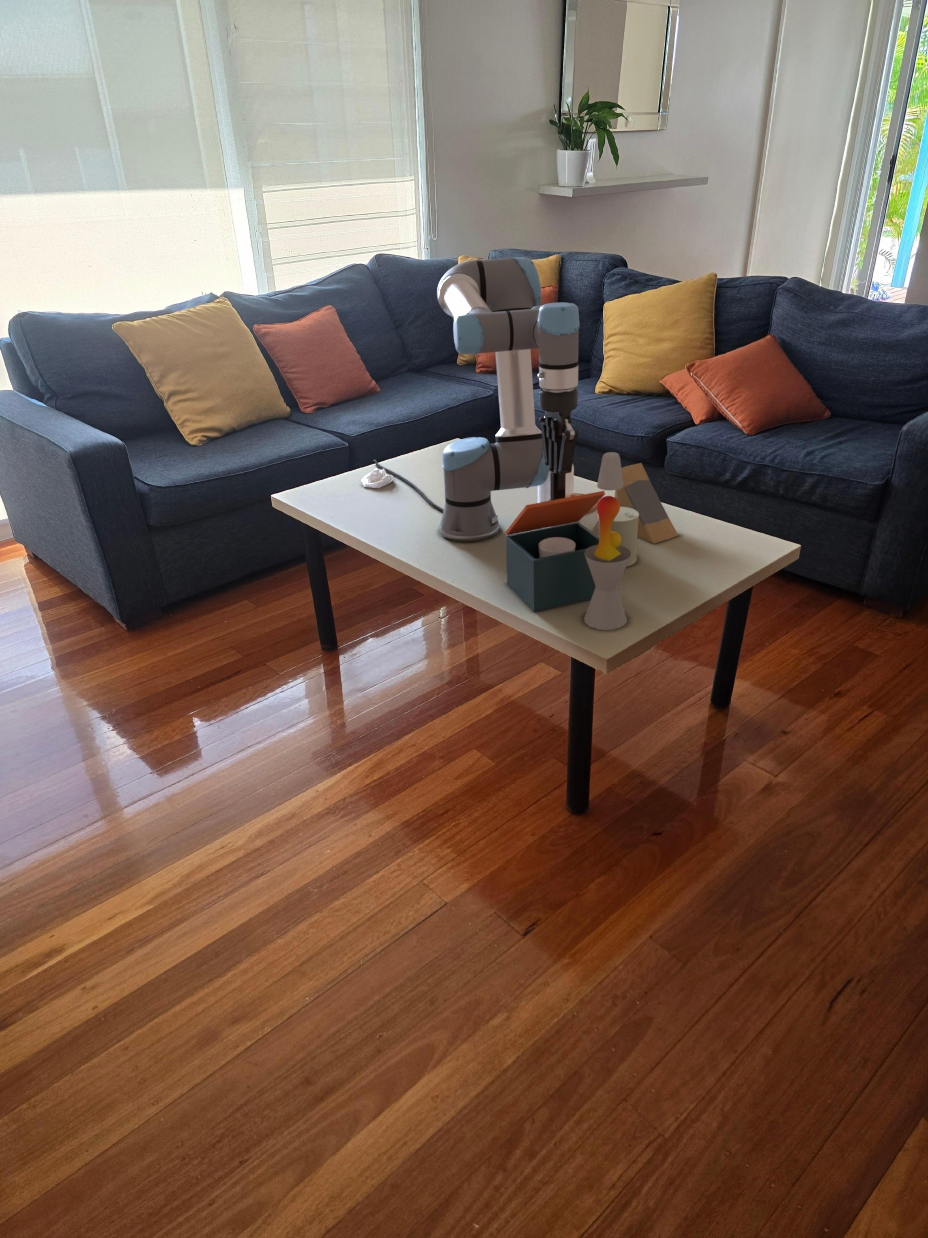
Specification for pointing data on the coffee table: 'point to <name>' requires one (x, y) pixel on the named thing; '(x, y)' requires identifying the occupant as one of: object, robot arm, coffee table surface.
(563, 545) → the white cup
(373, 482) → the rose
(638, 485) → the sandwich container
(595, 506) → the lidded bowl
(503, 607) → the coffee table surface
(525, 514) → the lid
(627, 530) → the can
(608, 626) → the lava lamp
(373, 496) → the coffee table surface
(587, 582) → the container
